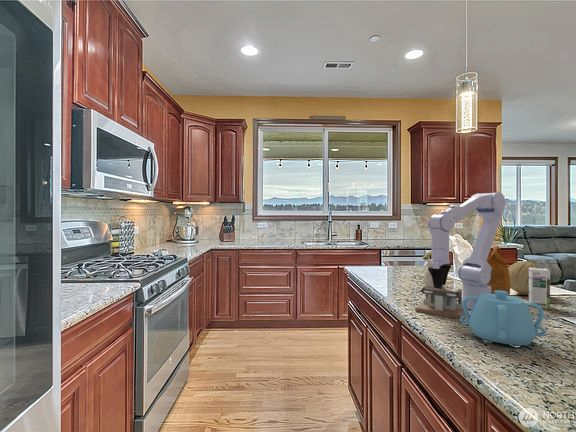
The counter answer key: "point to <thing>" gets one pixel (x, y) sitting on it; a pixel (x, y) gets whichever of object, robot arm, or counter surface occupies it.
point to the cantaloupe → (521, 276)
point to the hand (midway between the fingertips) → (440, 286)
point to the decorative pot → (502, 319)
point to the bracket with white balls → (443, 294)
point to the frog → (428, 276)
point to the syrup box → (539, 287)
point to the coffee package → (498, 272)
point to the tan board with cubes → (441, 306)
